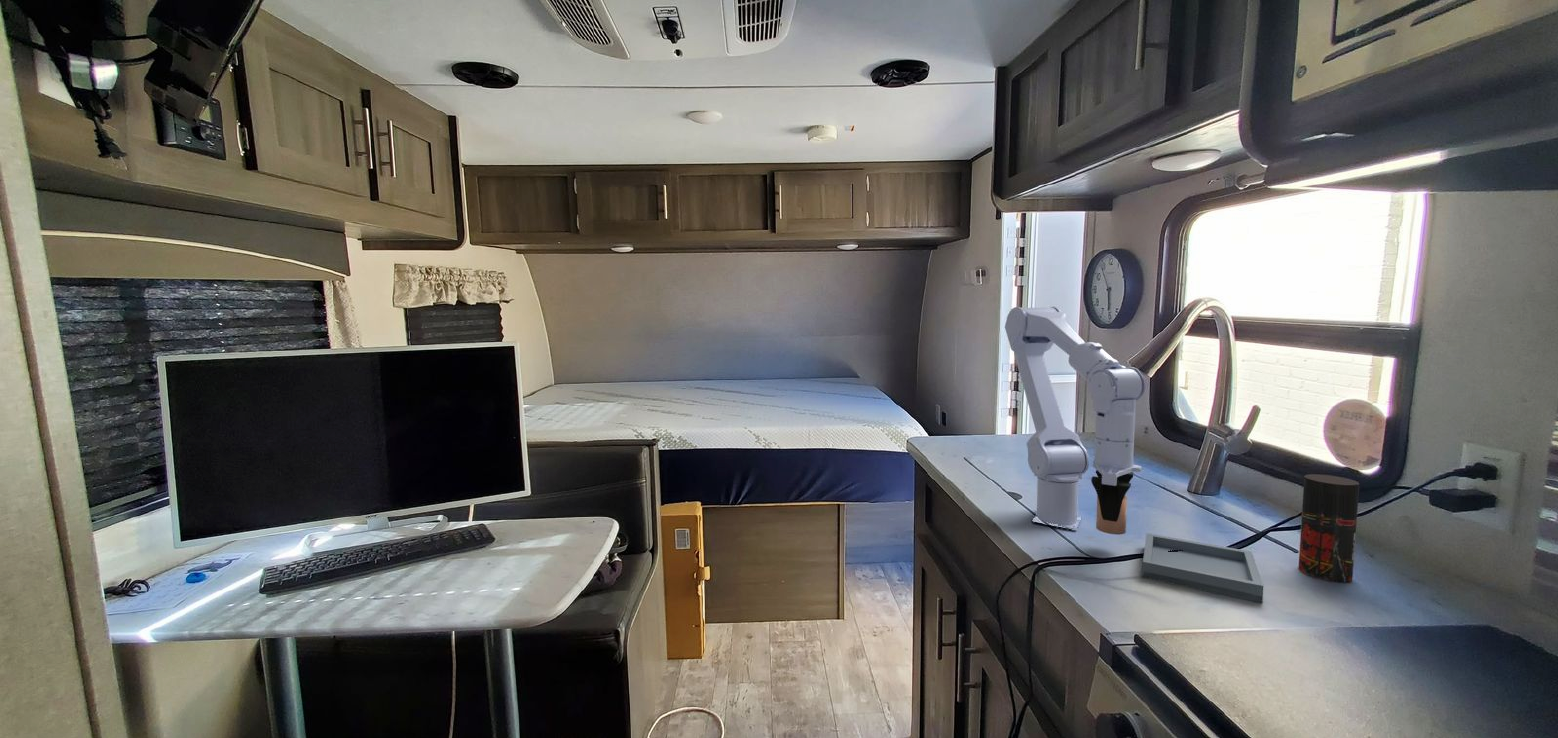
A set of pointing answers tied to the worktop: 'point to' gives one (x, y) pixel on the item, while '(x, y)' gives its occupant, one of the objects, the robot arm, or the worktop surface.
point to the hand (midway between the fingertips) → (1111, 515)
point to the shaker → (1112, 526)
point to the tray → (1202, 567)
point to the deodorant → (1328, 527)
